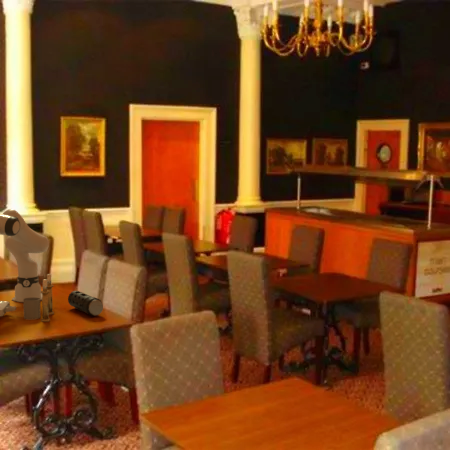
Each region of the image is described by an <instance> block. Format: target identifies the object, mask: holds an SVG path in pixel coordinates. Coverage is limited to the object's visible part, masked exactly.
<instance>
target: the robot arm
mask: <svg viewBox="0 0 450 450" xmlns="http://www.w3.org/2000/svg"><path fill="white" fill-rule="evenodd" d="M0 235H1V236H7V237H6V239H5V248H6V249H7V251H8V252H10V253H11V255H13V257H14V259H15V261H16V265H17V279H16V281H17V284H16V285H15V286H14V297H12V298H11V301H13V302H18V303H24V299H25V298H32V297H36V298H40V301H42V293H41V291H42V286H41V284H40V282H39V280H40V278H39V275H38V263H37V261H36V260H35V259H33V258H31V256H30V255H29V254H42V253H46V252H47V251H48V249H49V247H50V241H49V239H48V237H47V236H45V235H43V234H40V233H38V232H37V231H35V230H33V229H32V228H31V227H30V226H29V225H28V223H27V222H26V220H25V219H24V217H23V216H22V215H21V214H20V213H19V212H18V211H17V210H16V209H12V208H9V209H7V210H4V211H3V212H2V213H0ZM16 310H17V306H13V305H11V303H10V301H7V300H6V301H4V300H0V317H3V316H4V315H5V314H6V313H8V312H9V313H10V312H15V311H16Z"/></svg>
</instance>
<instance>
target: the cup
mask: <svg viewBox="0 0 450 450" xmlns="http://www.w3.org/2000/svg"><path fill="white" fill-rule="evenodd" d="M40 318H41V300H40V298H36V297H32V298H25V299H24V302H23V320H27V321H28V320H30V321H31V320H32V321H33V320H38V319H40Z"/></svg>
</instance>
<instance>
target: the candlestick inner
mask: <svg viewBox="0 0 450 450" xmlns="http://www.w3.org/2000/svg"><path fill="white" fill-rule="evenodd" d="M46 279H47V290H48V291H50V292H49V293H48V312H49V316H50V315H51V316H52V315H55V312H54V311H53V310H54V309H53V287H54V284H52V273H47V274H46Z"/></svg>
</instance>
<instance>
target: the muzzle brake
mask: <svg viewBox="0 0 450 450" xmlns="http://www.w3.org/2000/svg"><path fill="white" fill-rule="evenodd" d="M67 297H68V298H67V302H68V304H69V305H70V306H71V307H74V308H75V309H76V310H78V311H80V312H82V313H86V314H87V315H88V314H89V315H88V316H90V315H91V316H90V317H94V316H99V315H100V314H101V313H102V312H103V310H104V305H103V301H102V300H101V299H100V298H98V297H95V296H91V295H88V294H86V293H84V292H82V291H79V290H73V291H71V292H70V293H69V295H68V296H67Z"/></svg>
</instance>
